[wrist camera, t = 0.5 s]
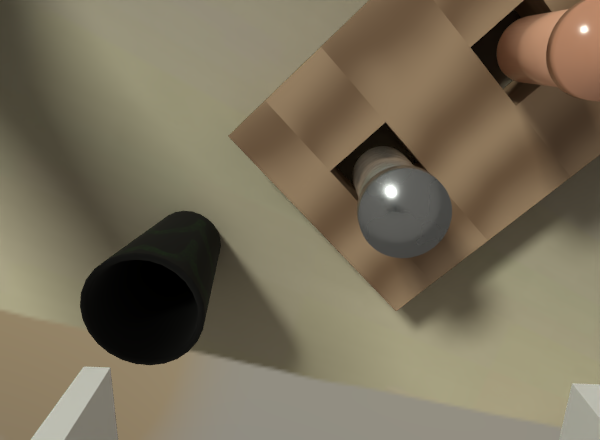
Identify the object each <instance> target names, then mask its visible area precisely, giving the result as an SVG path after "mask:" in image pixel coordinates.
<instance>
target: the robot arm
mask: <svg viewBox="0 0 600 440" xmlns="http://www.w3.org/2000/svg"><path fill="white" fill-rule="evenodd" d="M31 440H118V436H117V426H116V416H115V407H114V397H113V388H112V379H111V370H110V368H108V367H83V368H82V370H81V371H80V372H79V374H78V375H77V377H76V378H75V379H74V381H73V382H72V383H71V385H70V386H69V388H68V389H67V390H66V392H65V393H64V394H63V396H62V397H61V399H60V400H59V401H58V403H57V404H56V405H55V407H54V408H53V410H52V411H51V413H50V414H49V415H48V417H47V418H46V419H45V421H44V422H43V423H42V425H41V426H40V428H39V429H38V430H37V432H36V433H35V435H34V436H33V437H32V439H31ZM559 440H600V385H599V384H572V386H571V391H570V395H569V399H568V404H567V408H566V412H565V417H564V421H563V425H562V430H561V434H560V438H559Z"/></svg>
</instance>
